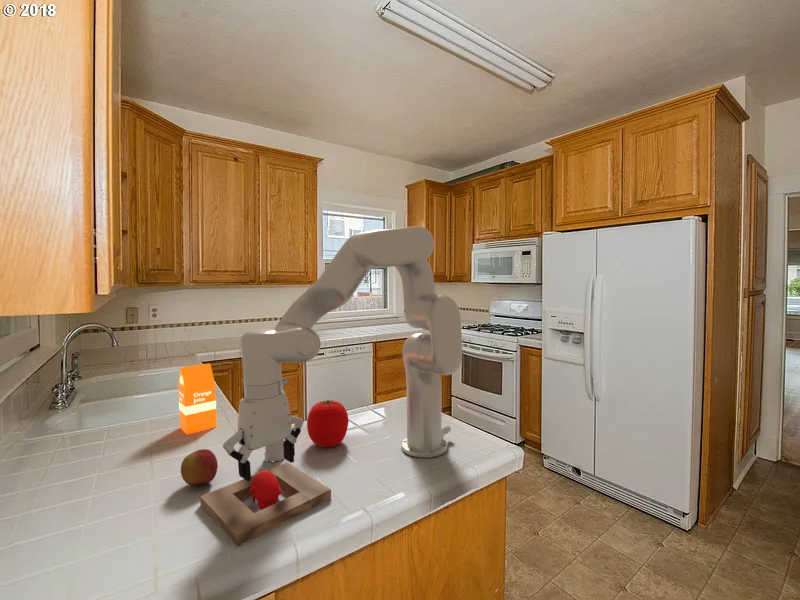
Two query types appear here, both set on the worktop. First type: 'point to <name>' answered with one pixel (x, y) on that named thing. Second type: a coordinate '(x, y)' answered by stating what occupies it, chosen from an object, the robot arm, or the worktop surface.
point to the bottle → (274, 451)
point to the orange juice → (197, 398)
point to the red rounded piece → (265, 489)
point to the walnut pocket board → (250, 525)
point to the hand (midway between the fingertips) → (268, 469)
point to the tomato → (327, 423)
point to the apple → (199, 467)
